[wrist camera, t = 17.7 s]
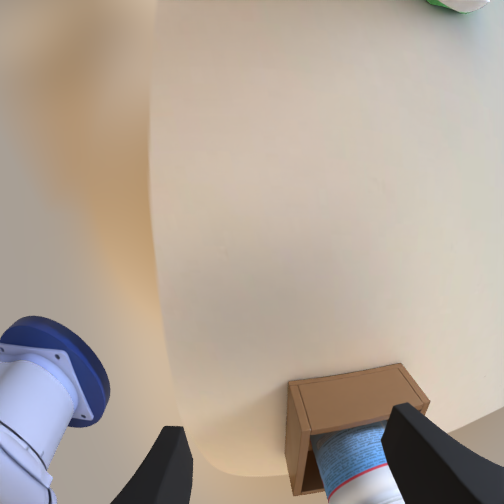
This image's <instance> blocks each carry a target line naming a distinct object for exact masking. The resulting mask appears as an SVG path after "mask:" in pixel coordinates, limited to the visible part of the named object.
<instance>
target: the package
mask: <svg viewBox="0 0 504 504" xmlns="http://www.w3.org/2000/svg"><path fill="white" fill-rule="evenodd" d="M406 402H408V403H410V404H411V405H412V406H413V407H415V408H416V409H417V410H418V411H419V412H421V413H422V414H423V415H424V416H425V413H426V411H427V409H428V406H429V404H430V400H429V399H428V398H427V396H426V395H425V394H424V392H423V391H422V390H421V388H420V387H419V386H418V384H417V383H416V382H415V380H414V379H413V378H412V376H411V375H410V374H409V373H408V371H407V370H406V369H405V367H404V366H403V365H402V364H401V363H398V364H393V365H389V366H384V367H379V368H374V369H369V370H364V371H358V372H353V373H347V374H341V375H334V376H328V377H321V378H314V379H306V380H298V381H289V382H288V400H287V422H286V440H285V457H286V462H287V467H288V472H289V477H290V482H291V487H292V492H293V496H298V495H306V494H311V493H317V492H323V491H325V489H324V486H323V482H322V479H321V475H320V472H319V468H318V465H317V462H316V458H315V455H314V452H313V449H312V445H311V442H310V435H316V434H322V433H328V432H333V431H339V430H344V429H349V428H353V427H358V426H362V425H367V424H371V423H375V422H379V421H383V420H387V422H388V419H389V416H390V414H391V411H392V408H393V406H394V405H398V404H402V403H406Z"/></svg>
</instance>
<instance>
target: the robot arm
mask: <svg viewBox="0 0 504 504" xmlns="http://www.w3.org/2000/svg"><path fill="white" fill-rule="evenodd" d="M58 355H59V356H58ZM93 417H94V416H93V413H92V411H91V409H90V407H89V405H88V403H87V400H86V398H85V396H84V394H83V391H82V389H81V387H80V384H79V382H78V379H77V377H76V374H75V372H74V369H73V367H72V364H71V361H70V359H69V356H68V354H67V353H66V352H65V351H63V350H56V349H45V348H35V347H27V346H18V345H11V344H4V343H0V504H57V499H56V495H55V493H54V491H53V490H52V489H51V488H50V484H51V482H52V480H53V477H52V476H51V475H50V474H49V473H48V472H47V469H48V467H49V465H50V462H51V460H52V458H53V456H54V454H55V451H56V449H57V447H58V445H59V443H60V440H61V438H62V436H63V434H64V432H65V430H66V428H67V426H68V424H69V422H70V420H71V418H77V419H83V420H93ZM381 444H382V447H383V451H384V454H385V458H386V461H387V464H388V466H389V469H390V471H391V473H392V475H393V478H394V480H395V482H396V484H397V487H398V489H399V491H400V493H401V496H402V498H403V500H404V502H405V504H504V467H502V466H500V465H497V464H495V463H493V462H491V461H489V460H487V459H485V458H483V457H481V456H479V455H478V454H476V453H474V452H473V451H471V450H470V449H468V448H466V447H465V446H463V445H462V444H460V443H459V442H458V441H456V440H455V439H453V438H452V437H451V436H449V435H448V434H447V433H445V432H444V431H443V430H441V429H440V428H439V427H438V426H436V425H435V424H434V423H433V422H431V421H430V420H429V419H428V418H427V417H425V416H424V415H423V414H422V413H421V412H419V411H418V410H417V409H416V408H415V407H413V406H412V405H411V404H410V403H408V402H406V403H402V404H398V405H394V406H393V408H392V411H391V414H390V416H389V419H388V422H387V425H386V427H385V430H384V433H383V435H382V438H381ZM192 477H193V458H192V454H191V452H190V448H189V445H188V442H187V438H186V435H185V431H184V428H183V427H180V426H165V427H163V429H162V430H161V432H160V434H159V436H158V438H157V440H156V441H155V443H154V445H153V446H152V448H151V450H150V451H149V453H148V454H147V456H146V458H145V459H144V461H143V462H142V464H141V465H140V467H139V468H138V470H137V471H136V472H135V474H134V476H133V477H132V478H131V479H130V481H129V482H128V483H127V484H126V486H125V487H124V488H123V489H122V491H121V492H120V493H119V494H118V495H117V497H116V498H115V499H114V500H113V501H112V502H111V503H110V504H189V501H190V495H191V489H192Z"/></svg>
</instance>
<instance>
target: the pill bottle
mask: <svg viewBox="0 0 504 504" xmlns="http://www.w3.org/2000/svg"><path fill="white" fill-rule="evenodd" d="M386 425H387V420H383V421H379V422H375V423H371V424H367V425H362V426H358V427H353V428H349V429H344V430H339V431H333V432H328V433H322V434H316V435H310V442H311V445H312V449H313V452H314V455H315V458H316V462H317V465H318V468H319V472H320V475H321V479H322V482H323V486H324V489H325V492H326V495H327V499H328V503H329V504H405V502H404V500H403V498H402V496H401V493H400V491H399V489H398V487H397V484H396V482H395V480H394V478H393V475H392V473H391V471H390V469H389V466H388V464H387V461H386V458H385V454H384V451H383V447H382V444H381V438H382V435H383V433H384V430H385V427H386Z"/></svg>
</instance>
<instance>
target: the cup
mask: <svg viewBox="0 0 504 504" xmlns="http://www.w3.org/2000/svg"><path fill="white" fill-rule="evenodd" d="M426 1H428V2H429V3H430V4H432V5H438V6H443V7H446V8H450V9H453V10H456V11H457V12H459V13H461V14H466V13H469V12H473V11H475V10H477V9H479V8H482V7H484V6H485V5H486V4H487V3H488V2H489V1H490V0H426Z"/></svg>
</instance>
